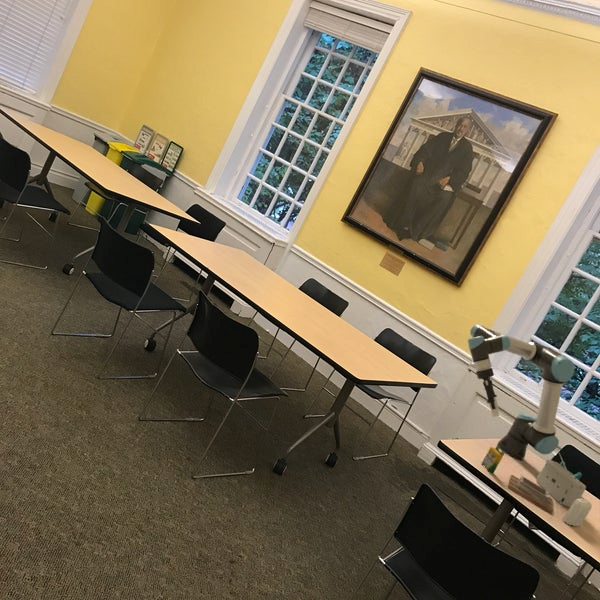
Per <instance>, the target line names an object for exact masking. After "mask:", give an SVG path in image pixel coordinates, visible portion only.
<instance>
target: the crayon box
mask: <svg viewBox="0 0 600 600" xmlns="http://www.w3.org/2000/svg"><path fill="white" fill-rule="evenodd" d="M505 454H506V453H505V452H504V451H503V450H502V449H501V448H500V447H499V446H498V445H496V446H495V447H493V446H490V448H489V449H488V451H487V453H486V455H485V456H484V458H483V460H482V462H481V463H482V464H483V465H484V466H485V468H486V469H487V470H486V469H485V468H484V469H485V470H486V471H487V472H488V473H489V472H490V474H494V473H495V471H496V469H497V468H498V466H499V464H500V462H501V461H502V458H503V457H504V455H505ZM482 464H481V465H482ZM483 465H482V466H483ZM484 466H483V467H484Z"/></svg>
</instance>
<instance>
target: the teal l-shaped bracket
mask: <svg viewBox="0 0 600 600" xmlns="http://www.w3.org/2000/svg"><path fill="white" fill-rule="evenodd" d="M563 462H564V464H565V465H566V462H565V461H563ZM563 462H562V461H560V463H559V464H560V465H561V466H562V467H563V468H565V467H564V464H563ZM567 471H568V472H569V473H571V474H572V475H573V476H574V477H575V478H577V479H578V480H579V481H580V479H581V478H582V476H583V475H582V472H580V471H578V472H577V473H575V474H573V473H572V472H571V471H569V470H568V469H567Z"/></svg>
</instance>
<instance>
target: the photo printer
mask: <svg viewBox="0 0 600 600" xmlns="http://www.w3.org/2000/svg"><path fill="white" fill-rule="evenodd" d="M592 507H593V506H592V503H591V502H590V501H589V500H587V499H586V498H580V499H577V500H575V501H574V502H573V503H572V505H571V506H570V507H568V509H567V511H566V513H565V515H564V516H563V518H562V521H563V520H564V521H563V522H564V523H565V522H566V523H567V524H566V523H565V524H566V525H568V524H569V525H568V526H571V525H573V526H574V527H581V526H582V524H583V522H584V521H585V520H586V518H587V516H588V515H589V513H590V512H591V510H592Z"/></svg>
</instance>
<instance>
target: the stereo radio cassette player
mask: <svg viewBox="0 0 600 600" xmlns="http://www.w3.org/2000/svg"><path fill="white" fill-rule="evenodd" d="M556 450H557V451H558V452H557V453H558V454H559V457H560V459H561V462H563V464H564V462H565V461H564V460H563V458H562V456H561V453H560V451H559V449H558V448H556ZM567 470H568V469H567V467H566V463H565V464H564V468H563V467H562V466H561V465H560V463H559V462H557V461H554V460H552V459H549V458H548V459H547V460H546V461H545V464H544V466H543V467H542V469H541V471H540V472H539V474H538V475H537V477H536V483H537V484H538V485H539V486H540V487H542V488H543V489H545V490H547V491H548V492H549V495H551V496H552V498H553V499H555V500H556V502H558V503H559V505H560V506H564V507H567V508H570V506H571V505H572V503H573V502H574V501H575V500H577V499H582V498H581V497H582V495H583V494H584V493H585V491H586V489H587V485H585V484H584V483H582V482H581V481H580V479H579V480H578V479H577V478H575V477H574V476H573V475H574V474H573V473H572V472H571V473H572V474H573V475H572V474H571V473H569V472H570V471H569V470H568V471H569V472H568V471H567Z"/></svg>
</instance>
